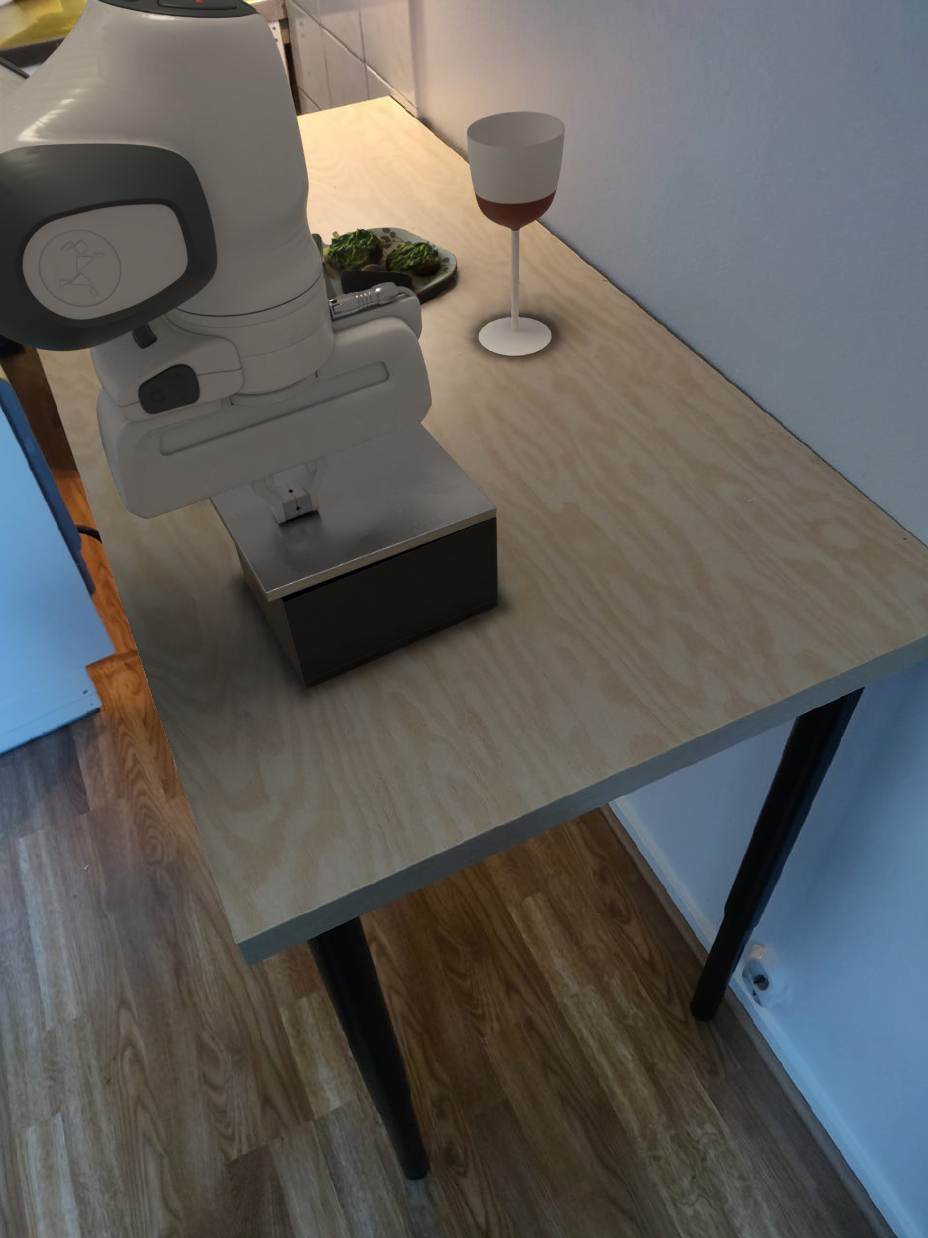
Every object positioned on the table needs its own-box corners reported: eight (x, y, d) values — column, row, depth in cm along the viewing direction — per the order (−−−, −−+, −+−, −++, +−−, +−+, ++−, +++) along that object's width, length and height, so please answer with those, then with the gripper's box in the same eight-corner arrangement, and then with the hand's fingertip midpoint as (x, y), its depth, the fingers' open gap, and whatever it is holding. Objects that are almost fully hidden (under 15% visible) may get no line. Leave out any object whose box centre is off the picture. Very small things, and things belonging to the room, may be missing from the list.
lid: (268, 602, 57) (265, 593, 56) (204, 491, 64) (202, 481, 64) (496, 516, 62) (497, 506, 62) (413, 423, 70) (412, 413, 69)
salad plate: (253, 272, 106) (244, 233, 102) (378, 223, 113) (374, 185, 110) (347, 337, 95) (341, 296, 92) (478, 279, 102) (477, 239, 99)
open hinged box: (306, 689, 64) (283, 603, 57) (245, 579, 72) (218, 493, 65) (498, 605, 69) (497, 517, 62) (421, 511, 76) (413, 423, 70)
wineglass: (459, 329, 95) (450, 124, 81) (532, 307, 98) (535, 104, 83) (496, 365, 91) (493, 154, 76) (571, 341, 93) (582, 132, 78)
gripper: (394, 253, 56) (412, 437, 66) (58, 350, 50) (136, 537, 60) (442, 296, 52) (453, 484, 63) (85, 407, 46) (163, 596, 56)
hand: (295, 511), depth 61 cm, fingers closed
